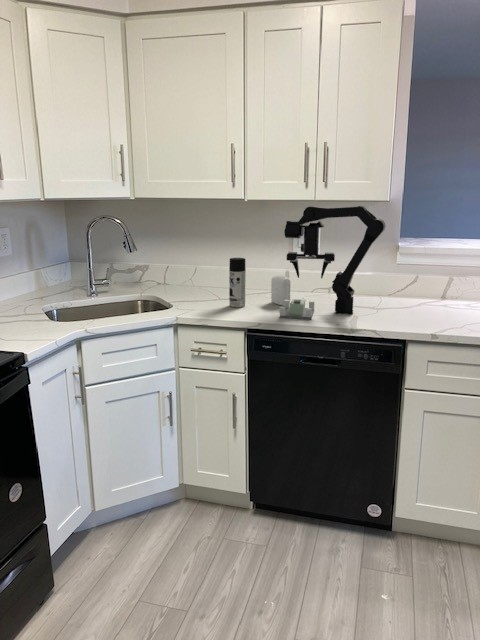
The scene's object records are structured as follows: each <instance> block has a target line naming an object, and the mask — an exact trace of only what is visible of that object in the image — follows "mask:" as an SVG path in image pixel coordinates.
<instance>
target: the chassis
mask: <svg viewBox="0 0 480 640" xmlns="http://www.w3.org/2000/svg"><path fill="white" fill-rule="evenodd" d="M290 303H291V299H290V300H284V306H280V307H279V316H278V317H279V319H287V320H289V319H291V320H308V321H310V320H312V318H313V315H314V313H315V300H309V301H308V307H305V311H304V313H303V315H297V314H290Z"/></svg>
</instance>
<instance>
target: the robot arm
mask: <svg viewBox="0 0 480 640" xmlns="http://www.w3.org/2000/svg"><path fill="white" fill-rule="evenodd" d="M349 217H352V218H353V217H357V218H358V219H359V220H360V221H361V222H362V223H363V225H365V226H366V227H367V228H366V230H365V233H364V236H363V239H362V241H361V242H360V244H359V245H358V247H357V249H356V251H355V252H354V254H353V256H352V258H351V259H350V260H349V262H348V264H347V266H346V267H345V269H344V270H343V272H342V271H338V272H337V274H336V275H335V278H334V280H333V281H331V283H332V285H331V289H332V291H333V293H334V294H336V299H335V305H334V311H335V314H336V315H337V314H339V315H354V310H353V309H354V294H355V289H354V288H353V287H351V283H352V280H353V277H354V275H355V273H356V271H357V269H358V268H359V266H360V265H361V263H362V261H363V259H364V258H365V256H366V255H367V253H368V251H369V250H370V248H371V246H372V245H373V244H374V242H375V241H376V240H377V239H378V238H379V237H380V236H381V235H382V234H383V232H384V231H385V229H386V222H385V221H384V220H383V219H381V218H378V217H376V216H375V215H374V214H373V213H371V212H370V211H369V210H368V209H367V208H366V206H364V205H358V206H345V207H344V206H343V207H323V206H315V205H313V206H307V207H306V208H304V210H303V214H302V216H301V218H300V219H299V220H298V221H293V220H287V221H286V224H285V226H284V230H283V231H284V232H283V233H284V238H286V239H300V238H301V237H303V243H300V252H301V253H298V252H297V251H288V253H286V261H289V263H292V266H293V267H294V270H295V272H296V275H297V278H298V279H299V278H300V269H299V268H300V267H299V260H301V259H302V260H323V262H322V269H321V275H320V279H323V277H324V274H325V271H326V269H327V267H328V265H329V264H332V262H335V261H336V260H335V258H336V257H335V256H336V254H335V253H334V252H324V254H322V253H321V254H319V236H320V235H319V234H320V232H319V231H320V229H321V228H324V227H325V225H324V224H323V222H322V221H321V220H323V219H324V220H325V219H327V218H328V219H331V218H349ZM315 221H317V222H315ZM308 223H309V224H308ZM306 224H307V225H306Z"/></svg>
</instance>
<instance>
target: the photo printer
mask: <svg viewBox="0 0 480 640" xmlns="http://www.w3.org/2000/svg"><path fill="white" fill-rule="evenodd" d="M270 282H271V283H270V285H271V287H270V289H271V290H270V293H271V295H270V299H271V303H273V304H275V305H279V306H281V307H284V300H290V301H291V280H290V279H289V278H288V277H287V276H285V275H282V274H277V275H273V277H272V278H271V281H270Z"/></svg>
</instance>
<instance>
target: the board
mask: <svg viewBox="0 0 480 640" xmlns="http://www.w3.org/2000/svg"><path fill="white" fill-rule="evenodd" d="M305 308H306V299H297V298H295V299H291V300H290V314H297V315H303V313H304V311H305Z"/></svg>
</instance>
